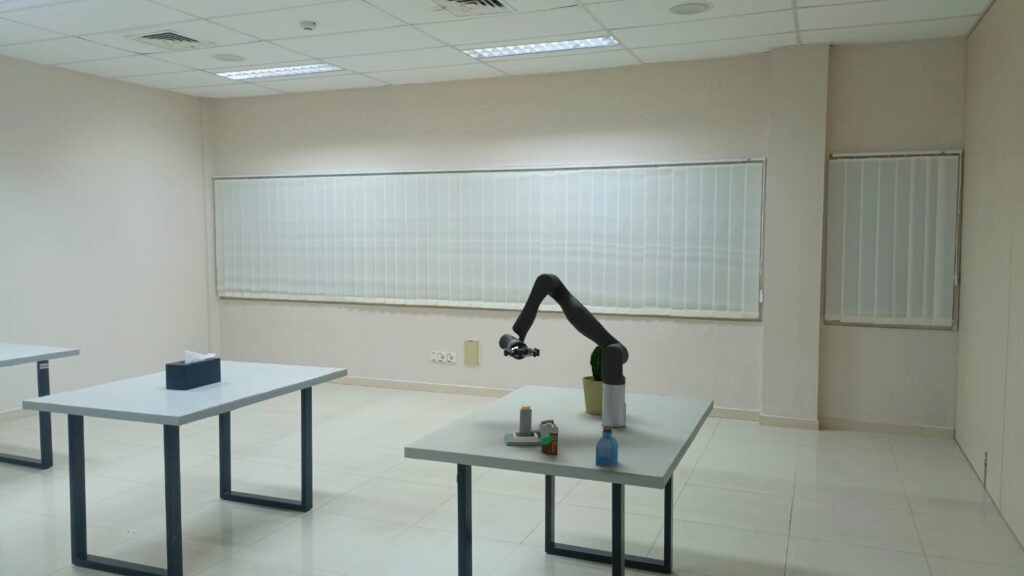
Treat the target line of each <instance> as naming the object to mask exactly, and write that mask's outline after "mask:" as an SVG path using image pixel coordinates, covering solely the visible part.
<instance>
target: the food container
mask: <svg viewBox="0 0 1024 576" xmlns="http://www.w3.org/2000/svg"><path fill="white" fill-rule="evenodd" d="M554 420H555V419H545V420H542V421H540V423H539V424H538V429H539V430H540V432H541V445H540V448H541V452H542V453H543V454H547V455H550V456H551V455H552V456H553V455H554V456H557V455H558V446H559V427H558V426H557V424H555V422H554Z"/></svg>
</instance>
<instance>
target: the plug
mask: <svg viewBox="0 0 1024 576" xmlns="http://www.w3.org/2000/svg"><path fill="white" fill-rule="evenodd" d="M532 416H533V409H531V406H530V405H522V406H521V408H520V409H519V428H518V429H519V431H518V432H519V437H531V429H532Z"/></svg>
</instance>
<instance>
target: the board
mask: <svg viewBox="0 0 1024 576" xmlns="http://www.w3.org/2000/svg"><path fill="white" fill-rule="evenodd" d="M504 439H505V443H506V444H505V445H506V446H541V432H540V430H539V428H531V437H519V431H512V433H504Z"/></svg>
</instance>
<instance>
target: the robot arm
mask: <svg viewBox="0 0 1024 576" xmlns="http://www.w3.org/2000/svg"><path fill="white" fill-rule="evenodd" d="M547 296H549V297H550V298H551V299H553V300H554V301H555V302H556V303H557V304H558V306H559V307H560V308H561V310H562V312H563V314H564V316H565V318H566V319H567V321H568V322H569V324H570V325H571V326H572V327H573V328H574V329H575V330H576V331H577V332H578V333H579V334H581V335H582V336H584V337H585V338H587V339H588V340H590V341H591V342H594V343H595V345H596V346H599V347H600V348H601V349H602V350H603V351H602V355H601V374H602V378H603V399H602V414H601V425H602V426H603V427H612V428H621V427H626V426H627V403H626V376H625V375H624V370H623V367H624V366H623V365H624V364H626V363H627V362H628V360H629V357H630V356H629V351H628V349H627V347H626V346H625V345H624V344H623V343H622V342H620V341H619V340H618V339H617V338H616V337H615V336H614V335H612V334H611V333H610V332H609V331H608V330H607V329H606V328H605V326H604V325H602V324H601V322H600V321H599V320H598V319H597V317H595V316H594V314H593V313H591V311H590V310H589V309H587V307H586V306H585V305H583V304H582V303H581V301H579V299H578V298H576V296H575V295H573V294H572V292H570V291H569V289H568V288H567V287H566V286H565V284H564V283H563V282H562V280H561V279H560V278H559V277H558V276H557V275H556V274H553V273H545V272H544V273H541V274H539V275H538V276H537V277H536V279H535V281H534V283H533V285H532V288H531V291H530V293H529V295H528V298H527V300H526V302H525V304H524V306H523V308H522V310H521V312H520V314H519V315H518V317H517V318H516V319H515V321H514V323H513V325H512V327H511V329H512V331H513V333H515V334H516V335H517V336H518V338H517V337H515V336H513V335H512V334H510V333H505V334H503V335H501V336H500V338H499V340H498V346H499V348H500V349H501V350H503V356H504V357H505V358H506V357H512V358H513V359H515V360H518V361H519V360H523V359H525V358H526V357H527V358H530V357H533V358H537V357H540V354H541V353H540V352H541V350H540V349H539V348H537V347H533V348H532V347H528V345H527V344H526V343H525V340H526V338H527V335H528V333H529V331H530V329H531V327H532V326H533V325H534V322H535V320H536V317H537V315H538V312H539V308H540V306H541V305H542V302H543V301H544V300H545V298H546V297H547Z"/></svg>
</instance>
